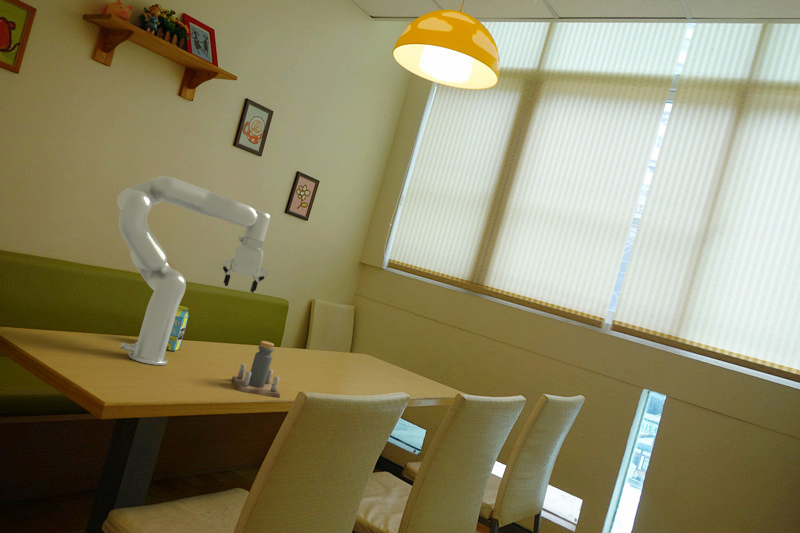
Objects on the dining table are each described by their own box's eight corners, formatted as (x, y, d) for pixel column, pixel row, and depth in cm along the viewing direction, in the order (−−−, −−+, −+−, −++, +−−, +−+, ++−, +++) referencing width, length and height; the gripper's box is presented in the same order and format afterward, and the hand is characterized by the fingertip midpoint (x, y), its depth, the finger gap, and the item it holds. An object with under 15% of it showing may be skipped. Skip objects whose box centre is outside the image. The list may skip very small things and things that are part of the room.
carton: (153, 347, 231) (167, 300, 232) (161, 344, 239) (174, 299, 239) (172, 352, 231) (186, 305, 232) (179, 349, 239) (192, 304, 239)
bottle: (259, 388, 209) (271, 345, 209) (244, 383, 210) (256, 340, 210) (266, 386, 214) (278, 344, 215) (251, 381, 215) (263, 339, 216)
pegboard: (238, 390, 203) (243, 372, 203) (231, 379, 215) (236, 362, 216) (279, 397, 209) (284, 379, 209) (270, 386, 221) (275, 369, 221)
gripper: (230, 237, 218) (216, 284, 218) (276, 250, 226) (263, 295, 225) (227, 236, 225) (214, 281, 225) (272, 249, 232) (259, 293, 232)
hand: (238, 288), depth 225 cm, fingers open, 9 cm apart
